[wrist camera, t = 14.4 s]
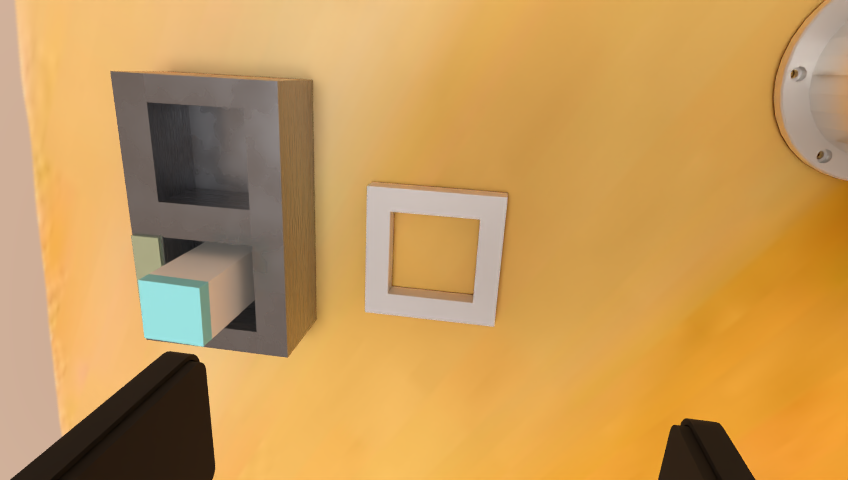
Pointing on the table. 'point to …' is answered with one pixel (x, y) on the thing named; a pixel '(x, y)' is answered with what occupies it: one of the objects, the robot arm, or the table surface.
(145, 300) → the plug
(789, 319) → the table surface
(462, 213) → the white square frame
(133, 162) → the port block
